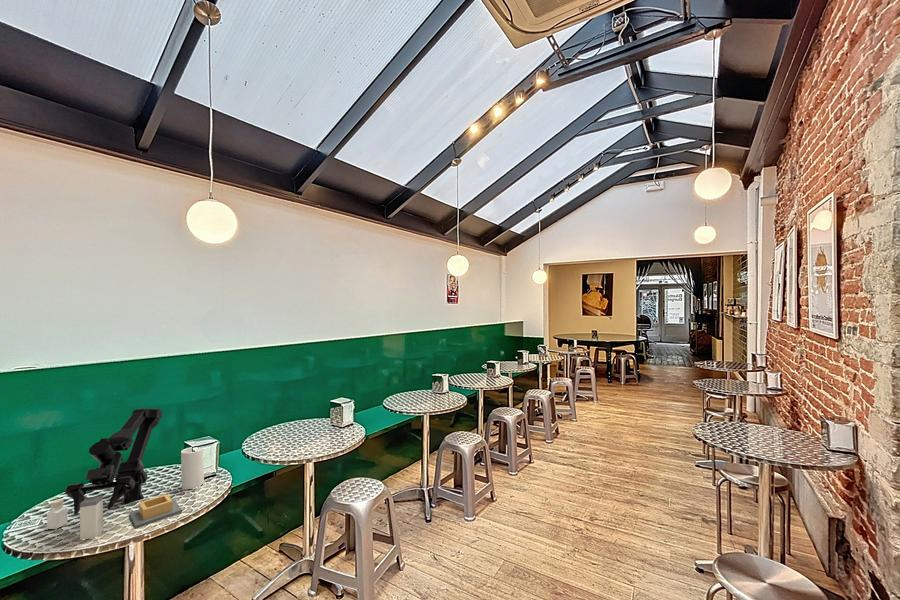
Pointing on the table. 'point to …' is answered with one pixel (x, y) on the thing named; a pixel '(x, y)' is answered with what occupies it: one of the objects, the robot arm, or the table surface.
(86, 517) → the plug
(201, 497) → the table surface
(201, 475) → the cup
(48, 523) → the pepper shaker
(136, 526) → the socket plate
